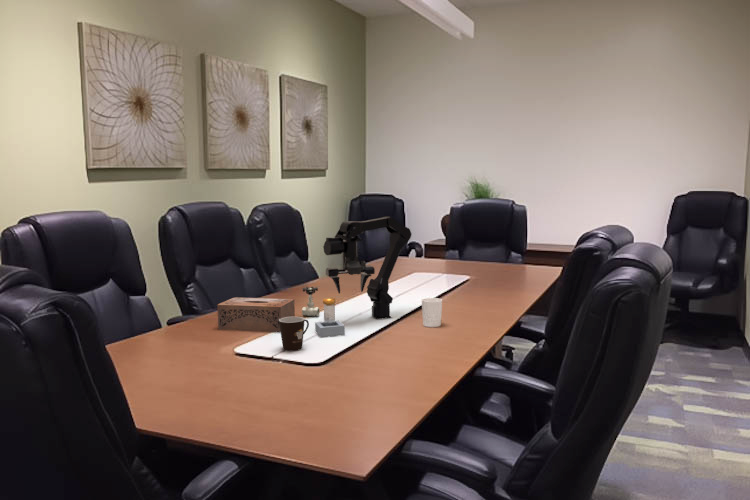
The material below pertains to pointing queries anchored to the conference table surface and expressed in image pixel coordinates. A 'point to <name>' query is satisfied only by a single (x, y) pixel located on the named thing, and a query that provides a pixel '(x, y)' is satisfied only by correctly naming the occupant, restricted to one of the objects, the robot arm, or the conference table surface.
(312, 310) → the valve
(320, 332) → the grey square hollow block
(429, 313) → the white cup
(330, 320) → the gold-capped bottle
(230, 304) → the tissue box cover
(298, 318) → the coffee mug
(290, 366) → the conference table surface
